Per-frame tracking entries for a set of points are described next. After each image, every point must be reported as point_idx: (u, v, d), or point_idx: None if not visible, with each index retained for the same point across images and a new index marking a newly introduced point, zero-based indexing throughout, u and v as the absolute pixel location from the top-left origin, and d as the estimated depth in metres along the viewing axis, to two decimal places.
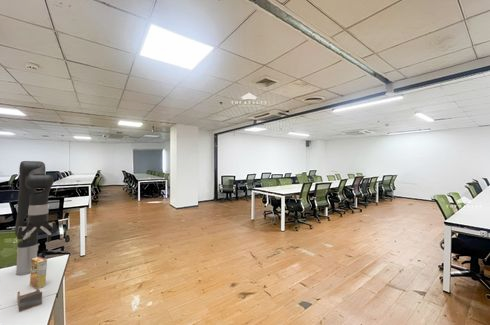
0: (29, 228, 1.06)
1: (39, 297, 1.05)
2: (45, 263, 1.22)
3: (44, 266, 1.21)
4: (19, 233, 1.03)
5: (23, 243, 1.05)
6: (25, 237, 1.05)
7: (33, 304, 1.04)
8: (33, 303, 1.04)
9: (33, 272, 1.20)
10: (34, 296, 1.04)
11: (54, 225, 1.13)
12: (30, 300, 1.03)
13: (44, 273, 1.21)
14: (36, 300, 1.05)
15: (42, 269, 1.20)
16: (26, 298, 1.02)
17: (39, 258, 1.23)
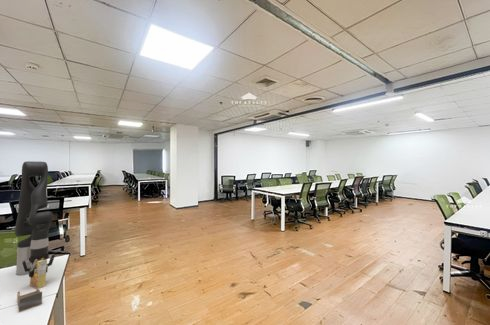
0: (31, 261, 1.19)
1: (39, 297, 1.05)
2: (45, 263, 1.22)
3: (44, 266, 1.21)
4: (24, 267, 1.17)
5: (30, 274, 1.19)
6: (31, 269, 1.19)
7: (33, 304, 1.04)
8: (33, 303, 1.04)
9: (33, 272, 1.20)
10: (34, 296, 1.04)
11: (52, 258, 1.26)
12: (30, 300, 1.03)
13: (44, 273, 1.21)
14: (36, 300, 1.05)
15: (42, 269, 1.20)
16: (26, 298, 1.02)
17: None
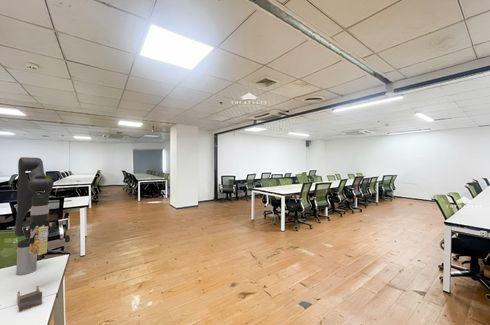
0: (32, 228, 1.18)
1: (39, 297, 1.05)
2: (46, 230, 1.20)
3: (45, 233, 1.20)
4: (25, 233, 1.15)
5: (30, 241, 1.17)
6: (32, 236, 1.17)
7: (33, 304, 1.04)
8: (33, 303, 1.04)
9: (34, 239, 1.18)
10: (34, 296, 1.04)
11: (53, 225, 1.25)
12: (30, 300, 1.03)
13: (45, 240, 1.20)
14: (36, 300, 1.05)
15: (43, 236, 1.19)
16: (26, 298, 1.02)
17: None
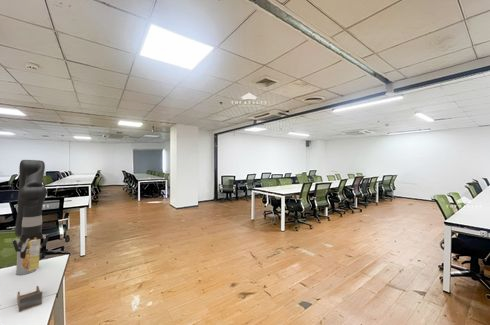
0: (23, 241, 1.08)
1: (39, 297, 1.05)
2: (38, 243, 1.10)
3: (37, 246, 1.09)
4: (15, 246, 1.05)
5: (21, 255, 1.07)
6: (23, 249, 1.08)
7: (33, 304, 1.04)
8: (33, 303, 1.04)
9: (25, 252, 1.09)
10: (34, 296, 1.04)
11: (47, 238, 1.14)
12: (30, 300, 1.03)
13: (37, 254, 1.10)
14: (36, 300, 1.05)
15: (34, 250, 1.09)
16: (26, 298, 1.02)
17: None
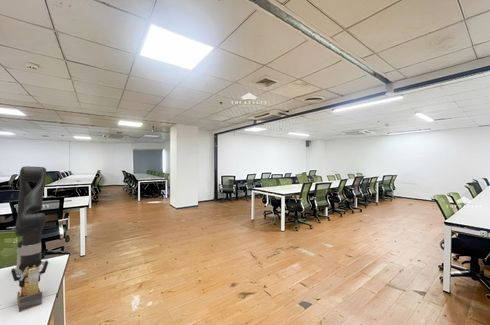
0: (22, 269, 1.06)
1: (39, 297, 1.05)
2: (37, 271, 1.08)
3: (36, 274, 1.08)
4: (14, 275, 1.04)
5: (20, 284, 1.06)
6: (22, 278, 1.06)
7: (33, 304, 1.04)
8: (33, 303, 1.04)
9: (24, 281, 1.07)
10: (34, 296, 1.04)
11: (46, 265, 1.13)
12: (30, 300, 1.03)
13: (36, 282, 1.08)
14: (36, 300, 1.05)
15: (33, 278, 1.07)
16: (26, 298, 1.02)
17: None
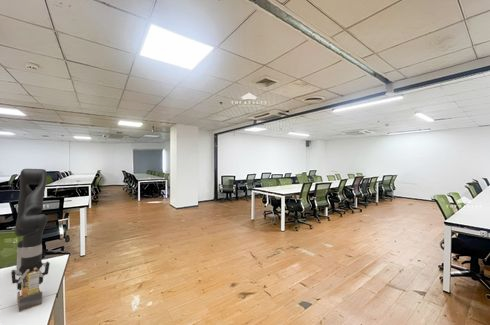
0: (22, 271, 1.04)
1: (39, 297, 1.05)
2: (37, 275, 1.06)
3: (36, 279, 1.06)
4: (13, 277, 1.02)
5: (18, 287, 1.03)
6: (20, 280, 1.03)
7: (33, 304, 1.04)
8: (33, 303, 1.04)
9: (24, 285, 1.05)
10: (34, 296, 1.04)
11: (47, 266, 1.11)
12: (30, 300, 1.03)
13: (36, 287, 1.06)
14: (36, 300, 1.05)
15: (33, 283, 1.05)
16: (26, 298, 1.02)
17: None
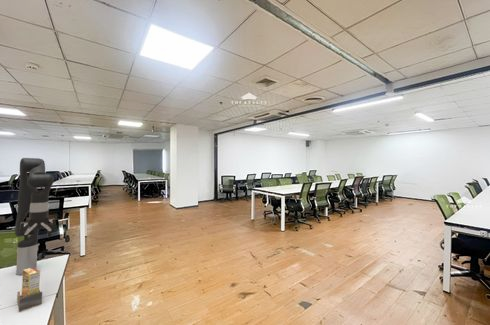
0: (30, 224, 1.13)
1: (39, 297, 1.05)
2: (38, 275, 1.06)
3: (37, 279, 1.06)
4: (21, 229, 1.10)
5: (25, 238, 1.11)
6: (27, 232, 1.11)
7: (33, 304, 1.04)
8: (33, 303, 1.04)
9: (25, 285, 1.05)
10: (34, 296, 1.04)
11: (54, 222, 1.20)
12: (30, 300, 1.03)
13: (37, 287, 1.06)
14: (36, 300, 1.05)
15: (34, 283, 1.05)
16: (26, 298, 1.02)
17: (32, 269, 1.08)
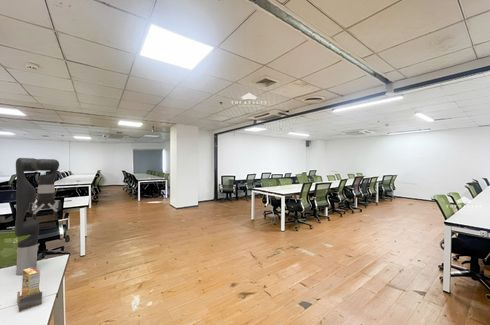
0: (38, 204, 1.23)
1: (39, 297, 1.05)
2: (38, 275, 1.06)
3: (36, 279, 1.06)
4: (30, 208, 1.20)
5: (33, 217, 1.22)
6: (35, 212, 1.22)
7: (33, 304, 1.04)
8: (33, 303, 1.04)
9: (25, 285, 1.05)
10: (34, 296, 1.04)
11: (60, 203, 1.30)
12: (30, 300, 1.03)
13: (37, 287, 1.06)
14: (36, 300, 1.05)
15: (34, 283, 1.05)
16: (26, 298, 1.02)
17: (31, 269, 1.08)
